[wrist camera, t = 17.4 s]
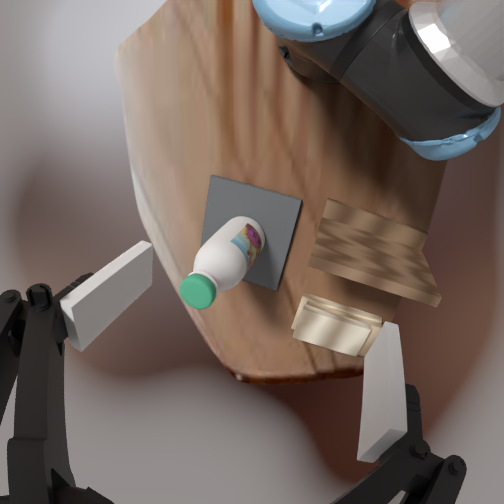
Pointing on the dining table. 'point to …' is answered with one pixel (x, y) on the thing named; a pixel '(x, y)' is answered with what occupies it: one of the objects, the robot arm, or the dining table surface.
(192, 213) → the dining table surface
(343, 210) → the offcut rack
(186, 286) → the milk bottle
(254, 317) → the dining table surface
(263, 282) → the charcoal mat
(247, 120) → the dining table surface
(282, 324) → the dining table surface
